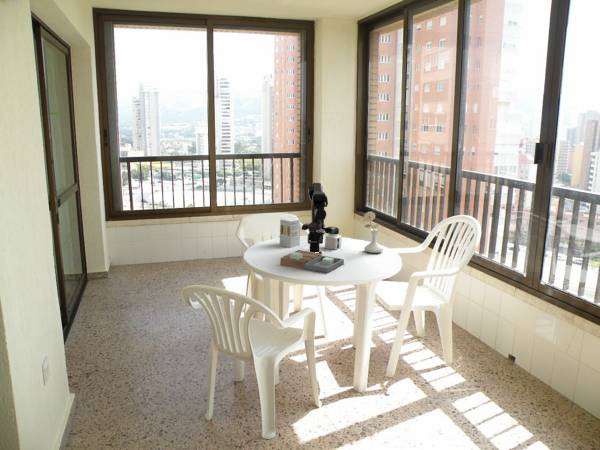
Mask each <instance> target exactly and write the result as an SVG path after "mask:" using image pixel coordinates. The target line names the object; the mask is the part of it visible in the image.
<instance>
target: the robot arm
mask: <svg viewBox="0 0 600 450" xmlns="http://www.w3.org/2000/svg"><path fill="white" fill-rule="evenodd" d="M307 196H308V199H309V200H310V203H311V222H310V223H307V222H306V223H303V224H302V226H301V230H302V231H307V230H308V233H307V239H306V240H307V242H306V243H307V245H309V251H310V252H314V253H315V252H319V251H320V245H322V244H323V243H324V235H325V234H328V233H329V234H332V233H335V232H336V228H335V227H336V226H327V227H326V225H325V220H326V218H327V211H326V210H325V208H327V207H328V205H329V201H328V200H329V199H328V196H327V195H326V193H325V192H324V191H323V186H322V183H320V182H313V183H311V185H309V186H308V188H307Z"/></svg>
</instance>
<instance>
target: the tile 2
mask: <svg viewBox="0 0 600 450" xmlns="http://www.w3.org/2000/svg"><path fill="white" fill-rule="evenodd" d="M329 257H330V256H328V257H325V258H323V259H322V264H328V265H331V264H333V263H334V258H335V257H334V258H329Z"/></svg>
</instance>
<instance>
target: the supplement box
mask: <svg viewBox="0 0 600 450" xmlns="http://www.w3.org/2000/svg"><path fill="white" fill-rule="evenodd" d="M279 221H280V222H279V245H280V246H283V247H286V248H294V247H295V248H296V247H298V246H300V244H301V219H300V218H294V217H284V218H280V220H279Z"/></svg>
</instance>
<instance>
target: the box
mask: <svg viewBox="0 0 600 450" xmlns="http://www.w3.org/2000/svg"><path fill="white" fill-rule="evenodd" d="M325 257H329V258H334V263H333V264H331V265H328V264H322V259H323V258H325ZM344 264H345V259H344V258H339V257H334V256H333V257H332V256H326V255H322V256H319V257H317V258H315V259H313V260H311V261H309V262H307V263H305V264H304V269H303V270H306V271H311V272H312V271H313V272H316V273H317V272H318V273H323V274H329V273H332V272H334V271H335V270H337V269H338V268H340V267H342V266H344Z"/></svg>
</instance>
